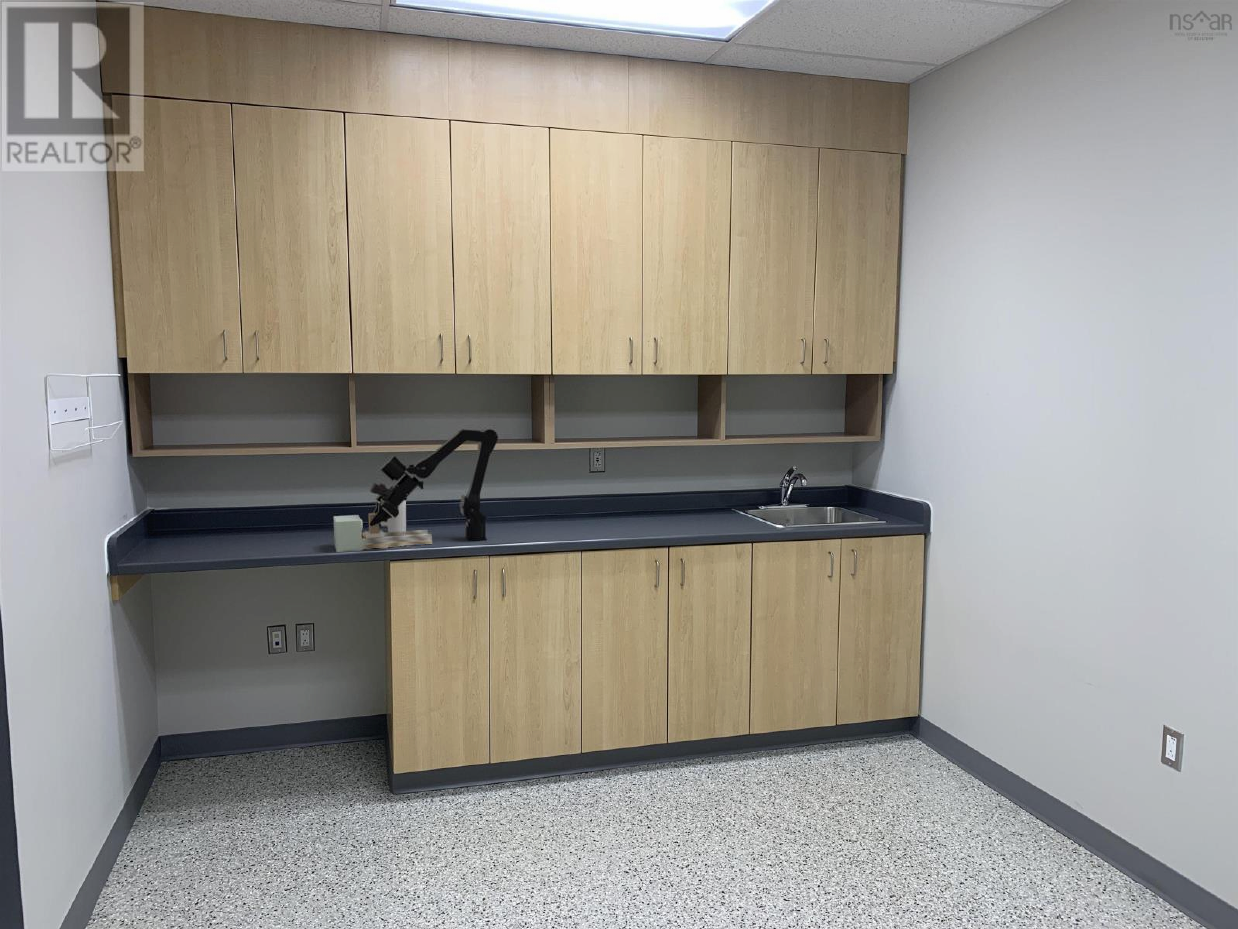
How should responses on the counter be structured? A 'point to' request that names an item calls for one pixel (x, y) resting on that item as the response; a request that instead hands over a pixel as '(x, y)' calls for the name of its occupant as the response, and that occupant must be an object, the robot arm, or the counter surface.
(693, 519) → the counter surface
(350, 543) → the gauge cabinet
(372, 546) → the patterned tray
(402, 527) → the mug
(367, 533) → the brown post on base
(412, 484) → the robot arm
